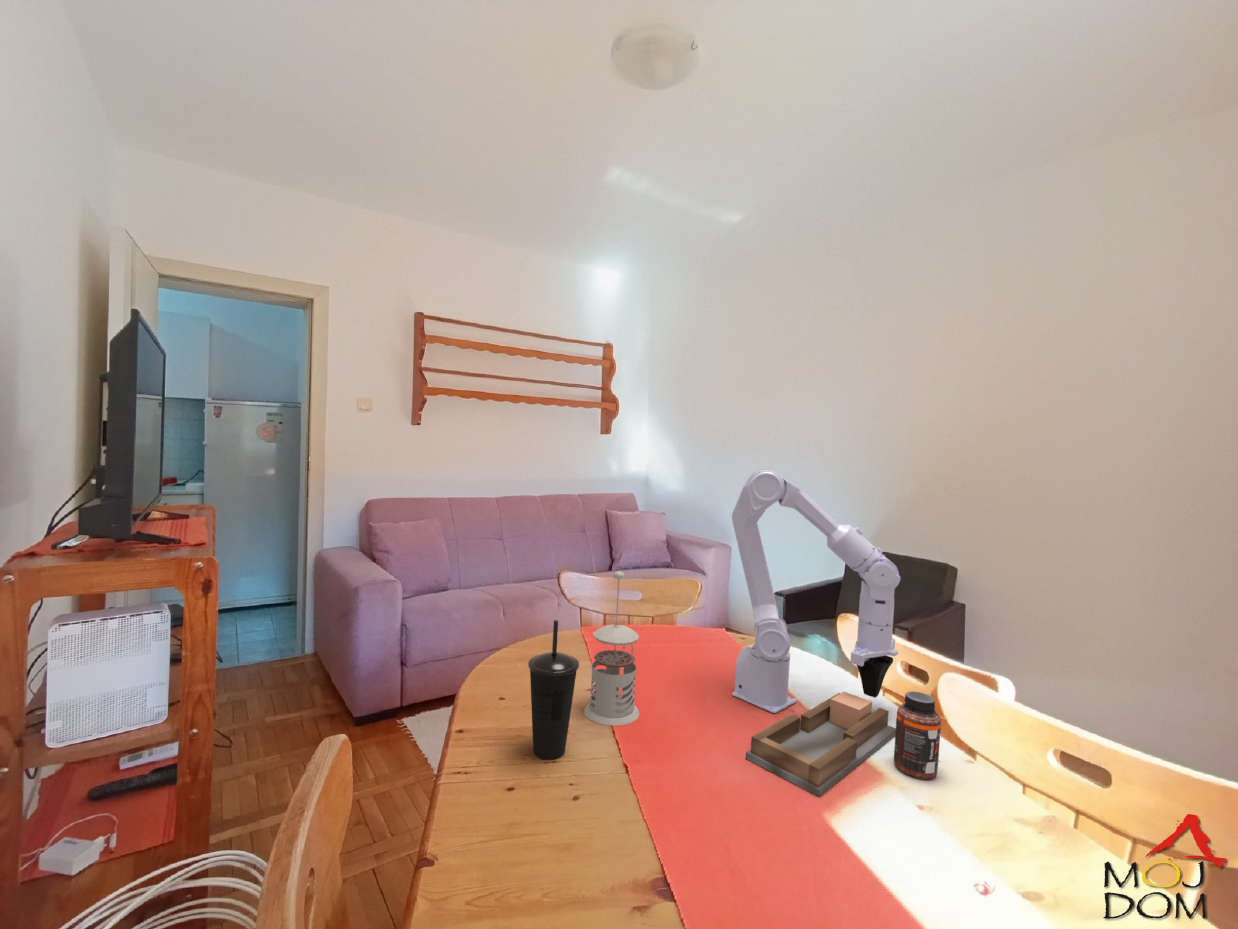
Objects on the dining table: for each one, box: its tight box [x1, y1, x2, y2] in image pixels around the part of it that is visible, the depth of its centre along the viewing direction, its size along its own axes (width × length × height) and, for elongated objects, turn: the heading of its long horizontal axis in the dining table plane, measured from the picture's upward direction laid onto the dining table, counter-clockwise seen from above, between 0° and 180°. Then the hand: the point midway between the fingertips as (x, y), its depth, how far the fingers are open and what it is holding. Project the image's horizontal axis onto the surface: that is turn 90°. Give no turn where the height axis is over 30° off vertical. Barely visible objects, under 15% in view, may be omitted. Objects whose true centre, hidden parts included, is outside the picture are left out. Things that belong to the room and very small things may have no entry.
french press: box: [583, 570, 640, 727], centre depth 99 cm, size 10×12×25 cm
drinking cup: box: [527, 619, 580, 761], centre depth 85 cm, size 8×8×20 cm
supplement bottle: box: [893, 691, 942, 780], centre depth 85 cm, size 6×6×11 cm
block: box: [829, 691, 873, 729], centre depth 97 cm, size 5×5×4 cm
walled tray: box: [745, 692, 896, 798], centre depth 91 cm, size 12×28×4 cm, turn 133°
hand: (870, 695), depth 102 cm, fingers closed
